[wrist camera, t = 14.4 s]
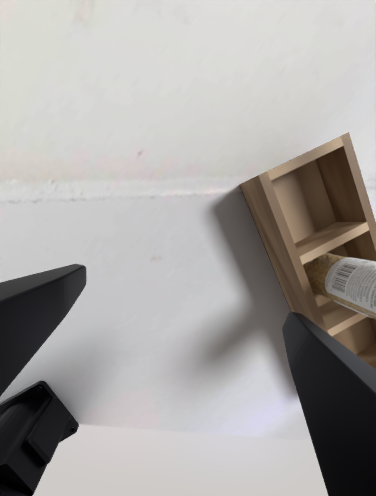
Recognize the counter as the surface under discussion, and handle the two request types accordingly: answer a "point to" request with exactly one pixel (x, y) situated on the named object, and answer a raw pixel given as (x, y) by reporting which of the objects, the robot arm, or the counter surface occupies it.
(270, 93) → the counter surface
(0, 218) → the counter surface
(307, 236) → the slot crate
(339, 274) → the sprinkles bottle
